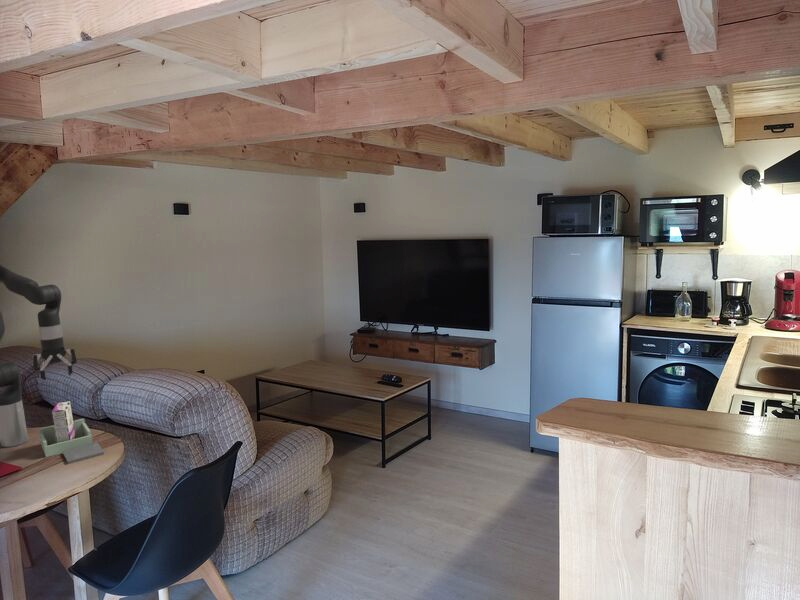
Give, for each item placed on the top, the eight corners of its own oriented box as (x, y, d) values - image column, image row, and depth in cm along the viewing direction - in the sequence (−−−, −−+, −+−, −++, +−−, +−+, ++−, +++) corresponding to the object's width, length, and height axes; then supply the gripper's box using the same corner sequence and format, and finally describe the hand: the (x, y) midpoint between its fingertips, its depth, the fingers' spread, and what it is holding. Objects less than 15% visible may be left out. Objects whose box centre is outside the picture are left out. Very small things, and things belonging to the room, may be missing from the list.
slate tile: (63, 453, 216) (62, 451, 216) (97, 444, 223) (97, 442, 223) (68, 463, 207) (67, 461, 206) (104, 454, 214) (103, 451, 214)
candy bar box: (62, 441, 228) (56, 402, 226) (76, 439, 230) (70, 400, 227) (57, 451, 218) (51, 411, 215) (71, 449, 220) (66, 409, 217)
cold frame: (41, 445, 225) (38, 428, 224) (86, 434, 235) (83, 418, 234) (46, 457, 213) (43, 439, 212) (93, 445, 223) (90, 428, 222)
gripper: (70, 332, 224) (76, 371, 227) (28, 338, 216) (34, 379, 218) (74, 335, 218) (79, 375, 221) (30, 341, 210) (36, 383, 212)
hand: (57, 377), depth 220 cm, fingers open, 8 cm apart
